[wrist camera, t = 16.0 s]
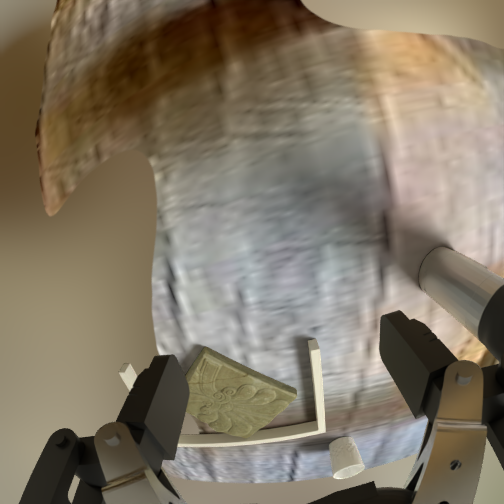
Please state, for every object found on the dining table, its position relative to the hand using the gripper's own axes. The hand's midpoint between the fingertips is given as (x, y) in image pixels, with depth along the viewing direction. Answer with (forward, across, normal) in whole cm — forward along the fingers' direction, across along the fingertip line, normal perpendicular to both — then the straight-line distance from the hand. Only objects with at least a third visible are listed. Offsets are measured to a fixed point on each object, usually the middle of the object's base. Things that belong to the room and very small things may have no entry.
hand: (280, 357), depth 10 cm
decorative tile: (+31, +13, +33) cm, 47 cm away
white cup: (+30, -10, +60) cm, 68 cm away
